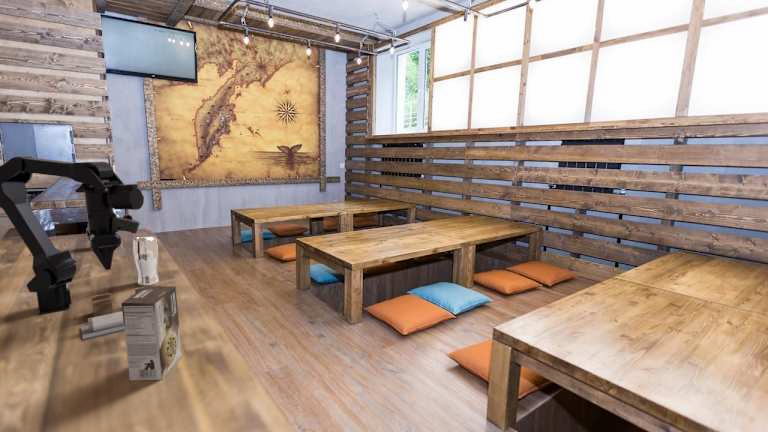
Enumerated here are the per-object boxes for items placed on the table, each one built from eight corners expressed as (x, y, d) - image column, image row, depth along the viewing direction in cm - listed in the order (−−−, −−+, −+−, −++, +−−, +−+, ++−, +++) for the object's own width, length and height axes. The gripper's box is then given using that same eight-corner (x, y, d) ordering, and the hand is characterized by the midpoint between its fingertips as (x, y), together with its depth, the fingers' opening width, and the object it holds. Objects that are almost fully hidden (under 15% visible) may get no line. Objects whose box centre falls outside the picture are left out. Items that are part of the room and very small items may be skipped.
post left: (94, 319, 100) (92, 302, 99) (93, 312, 104) (91, 296, 104) (113, 315, 103) (111, 298, 102) (111, 309, 107) (109, 293, 106)
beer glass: (149, 286, 124) (145, 241, 122) (131, 285, 126) (126, 240, 123) (165, 279, 131) (161, 237, 128) (148, 278, 132) (144, 235, 130)
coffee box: (151, 356, 83) (145, 285, 80) (182, 355, 84) (177, 284, 81) (127, 381, 74) (119, 302, 71) (162, 380, 75) (155, 301, 72)
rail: (89, 332, 92) (88, 322, 92) (88, 328, 94) (87, 318, 94) (169, 314, 103) (168, 304, 103) (167, 310, 105) (166, 301, 105)
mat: (82, 340, 89) (82, 338, 89) (81, 328, 95) (80, 326, 95) (177, 317, 102) (177, 316, 102) (170, 307, 108) (170, 306, 108)
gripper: (141, 210, 100) (146, 268, 103) (130, 202, 114) (135, 253, 117) (87, 215, 93) (95, 276, 96) (83, 206, 107) (89, 259, 110)
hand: (106, 265), depth 105 cm, fingers open, 9 cm apart
